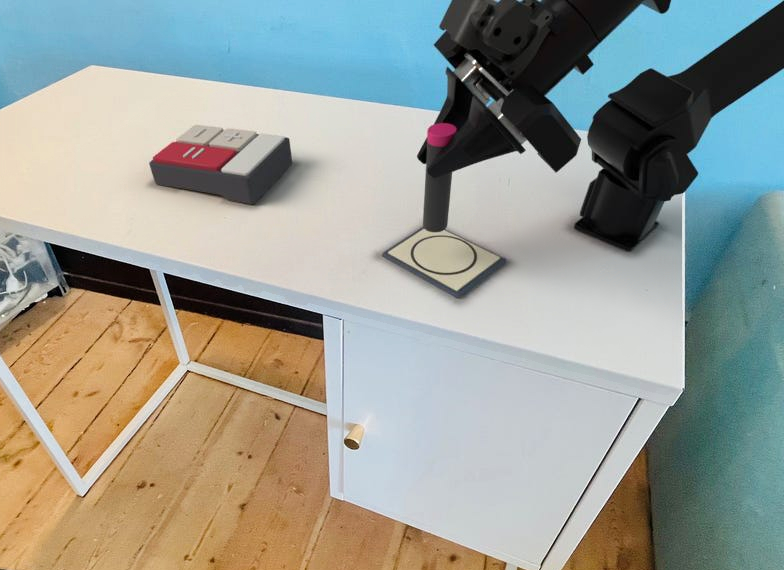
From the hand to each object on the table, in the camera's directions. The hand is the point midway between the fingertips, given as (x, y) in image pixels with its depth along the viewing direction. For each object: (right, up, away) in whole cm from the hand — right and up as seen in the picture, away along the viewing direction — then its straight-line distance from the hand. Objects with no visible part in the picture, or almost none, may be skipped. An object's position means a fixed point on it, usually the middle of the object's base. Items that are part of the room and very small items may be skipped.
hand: (424, 167), depth 52 cm
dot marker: (+2, -4, +5) cm, 7 cm away
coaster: (+4, -7, +8) cm, 11 cm away
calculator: (-22, +6, +23) cm, 32 cm away
